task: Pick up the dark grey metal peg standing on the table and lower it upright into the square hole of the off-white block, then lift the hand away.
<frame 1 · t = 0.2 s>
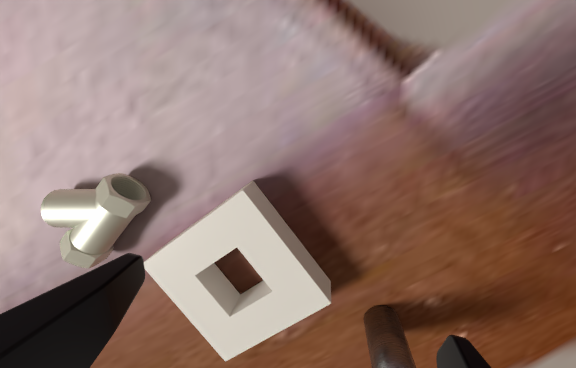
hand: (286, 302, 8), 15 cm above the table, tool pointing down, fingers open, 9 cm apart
metal peg: (381, 320, 25), on the table
hole block: (243, 263, 26), on the table
pipe fitting: (108, 200, 27), on the table
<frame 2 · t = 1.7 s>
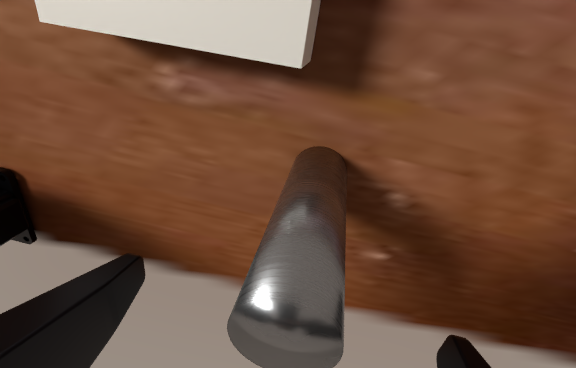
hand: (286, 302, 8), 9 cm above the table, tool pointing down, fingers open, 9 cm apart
metal peg: (319, 172, 16), on the table
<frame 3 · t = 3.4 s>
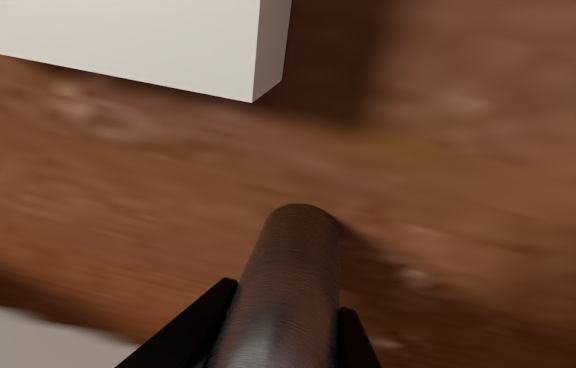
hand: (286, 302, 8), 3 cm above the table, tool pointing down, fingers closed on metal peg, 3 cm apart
metal peg: (301, 237, 11), on the table, touching gripper
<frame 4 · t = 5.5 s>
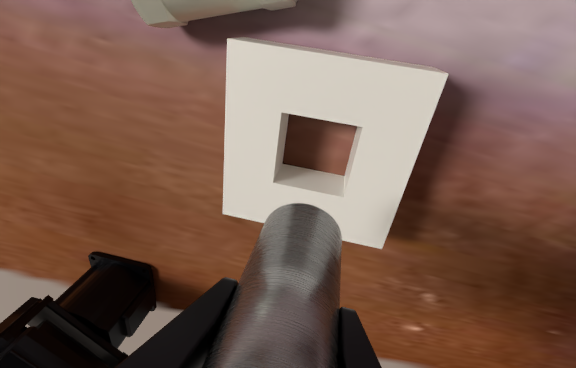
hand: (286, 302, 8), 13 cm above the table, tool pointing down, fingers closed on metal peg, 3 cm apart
metal peg: (301, 236, 11), point 10 cm above the table, touching gripper
hole block: (318, 140, 20), on the table
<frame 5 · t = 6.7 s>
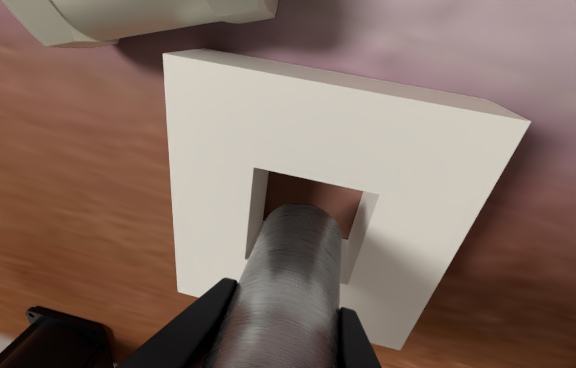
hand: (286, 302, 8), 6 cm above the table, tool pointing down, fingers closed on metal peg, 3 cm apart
metal peg: (301, 236, 11), point 3 cm above the table, touching gripper
hole block: (312, 193, 14), on the table
when the fingers open (4 cm above the table, at t = 7.6 s): metal peg stays where it is, resting in hole block.
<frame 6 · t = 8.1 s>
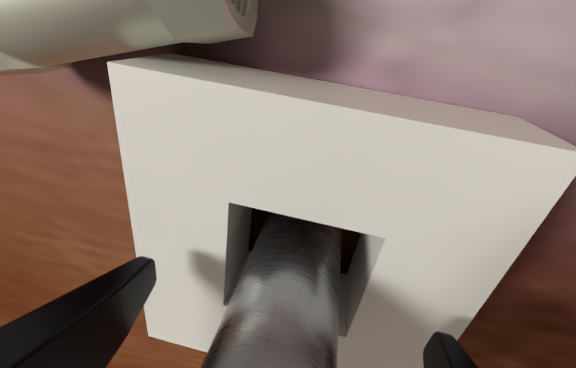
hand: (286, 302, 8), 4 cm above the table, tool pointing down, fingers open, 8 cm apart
metal peg: (304, 221, 12), resting in hole block
hole block: (305, 222, 12), on the table
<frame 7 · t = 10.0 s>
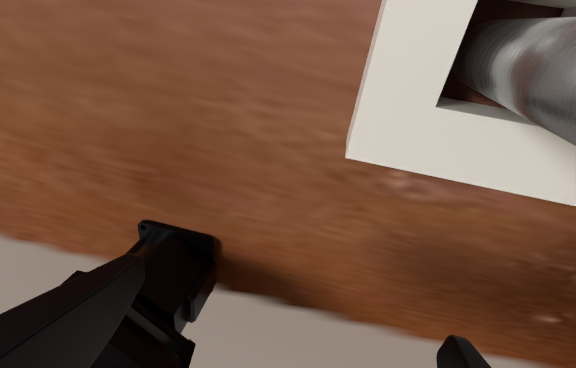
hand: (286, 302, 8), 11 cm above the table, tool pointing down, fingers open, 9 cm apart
metal peg: (485, 55, 14), resting in hole block
hole block: (486, 55, 14), on the table
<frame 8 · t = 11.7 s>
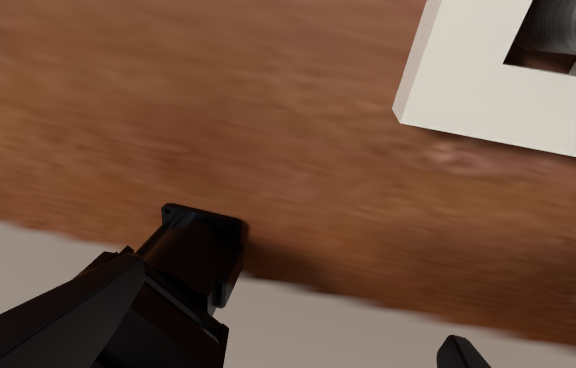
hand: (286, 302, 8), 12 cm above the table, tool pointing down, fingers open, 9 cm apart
metal peg: (545, 15, 14), resting in hole block
hole block: (546, 15, 14), on the table
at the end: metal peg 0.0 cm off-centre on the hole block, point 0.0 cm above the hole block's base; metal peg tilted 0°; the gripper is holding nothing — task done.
